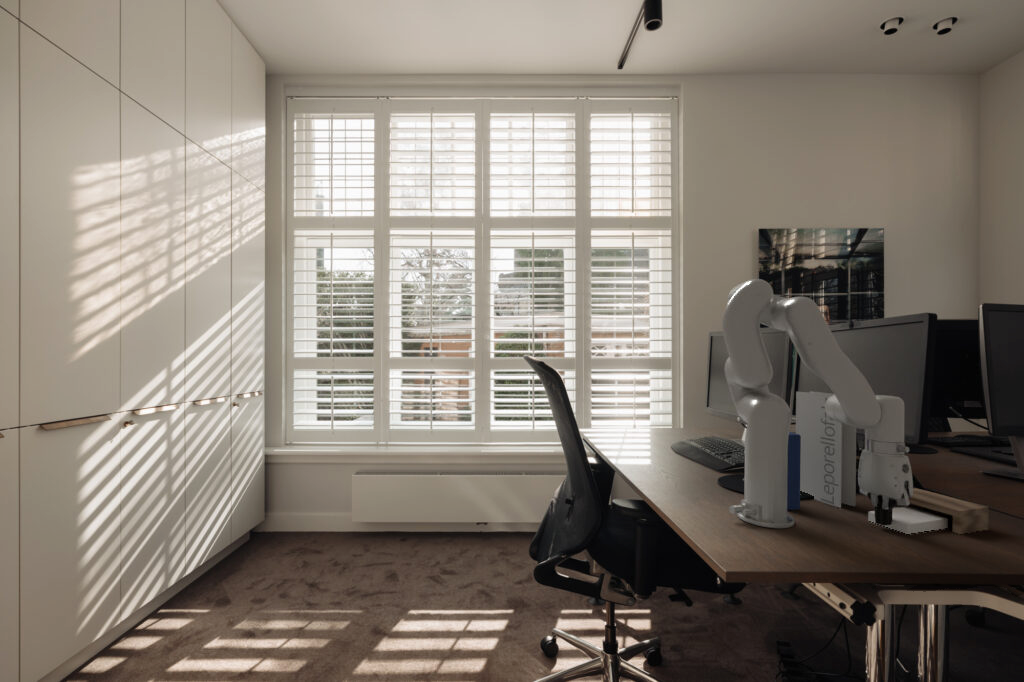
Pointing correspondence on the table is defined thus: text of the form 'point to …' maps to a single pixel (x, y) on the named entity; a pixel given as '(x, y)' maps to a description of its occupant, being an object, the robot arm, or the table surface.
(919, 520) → the white sponge pad
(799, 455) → the electronic device
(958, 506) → the overhang shelf
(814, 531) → the table surface
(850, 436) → the brochure
